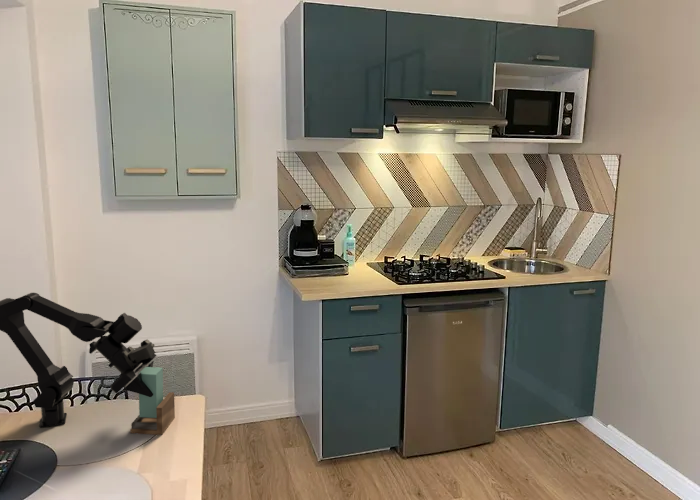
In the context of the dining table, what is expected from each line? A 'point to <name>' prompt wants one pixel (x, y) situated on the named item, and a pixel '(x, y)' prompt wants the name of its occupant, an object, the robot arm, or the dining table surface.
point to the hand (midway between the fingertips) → (155, 391)
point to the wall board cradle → (156, 424)
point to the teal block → (155, 384)
